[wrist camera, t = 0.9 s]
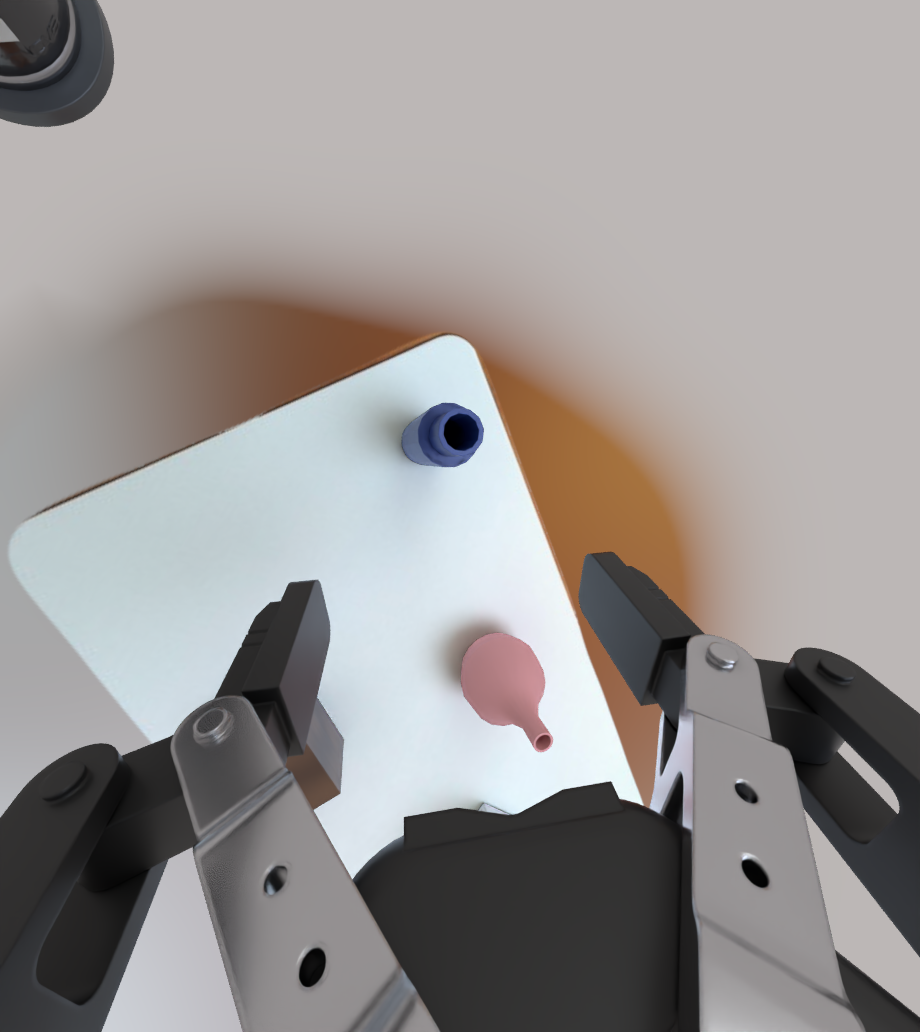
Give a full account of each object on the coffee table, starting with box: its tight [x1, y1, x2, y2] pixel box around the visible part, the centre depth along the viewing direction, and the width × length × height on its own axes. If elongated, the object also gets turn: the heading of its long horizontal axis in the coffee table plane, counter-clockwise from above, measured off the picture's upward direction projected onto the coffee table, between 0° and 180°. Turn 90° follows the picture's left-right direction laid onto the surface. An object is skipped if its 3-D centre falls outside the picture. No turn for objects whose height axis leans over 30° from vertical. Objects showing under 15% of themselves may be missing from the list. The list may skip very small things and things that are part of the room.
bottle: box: [402, 403, 484, 467], centre depth 27 cm, size 4×4×13 cm
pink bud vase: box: [461, 633, 553, 752], centre depth 32 cm, size 8×8×12 cm
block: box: [285, 698, 344, 810], centre depth 31 cm, size 7×7×6 cm
